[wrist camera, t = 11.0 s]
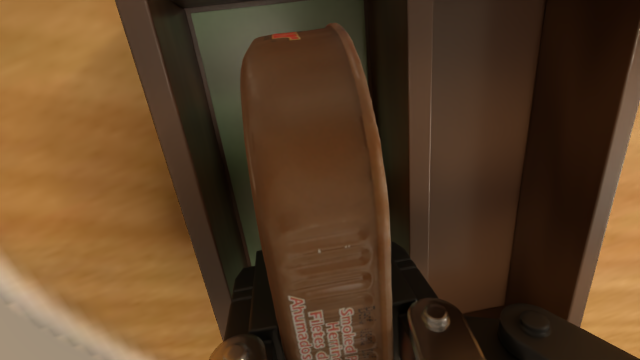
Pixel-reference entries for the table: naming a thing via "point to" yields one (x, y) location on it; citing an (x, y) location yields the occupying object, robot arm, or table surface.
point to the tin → (319, 194)
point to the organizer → (420, 132)
